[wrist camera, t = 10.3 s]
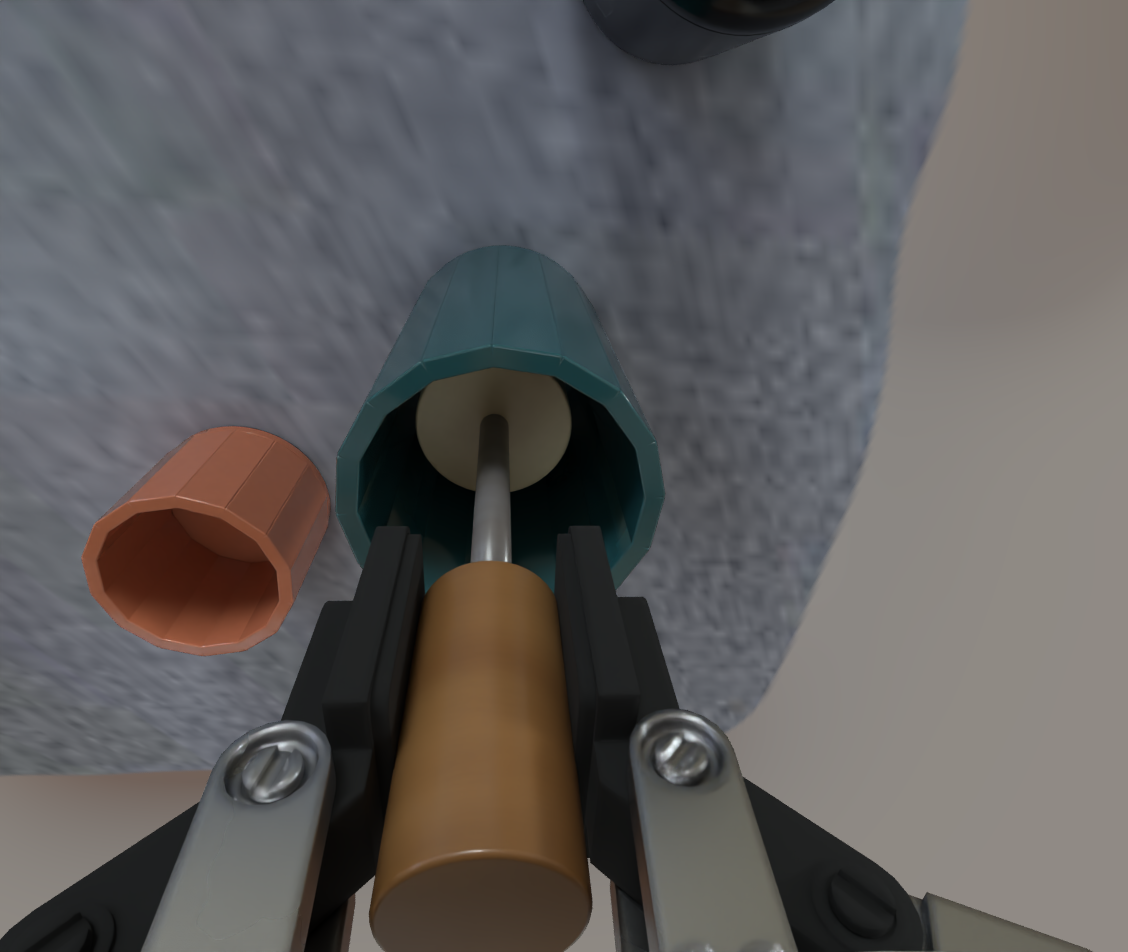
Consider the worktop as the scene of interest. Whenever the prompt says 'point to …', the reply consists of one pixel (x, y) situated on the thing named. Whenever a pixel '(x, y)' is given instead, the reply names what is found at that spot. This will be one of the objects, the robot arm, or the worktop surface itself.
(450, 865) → the brush
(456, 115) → the worktop surface
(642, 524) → the cup
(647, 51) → the supplement bottle
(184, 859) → the robot arm
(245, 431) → the cup
